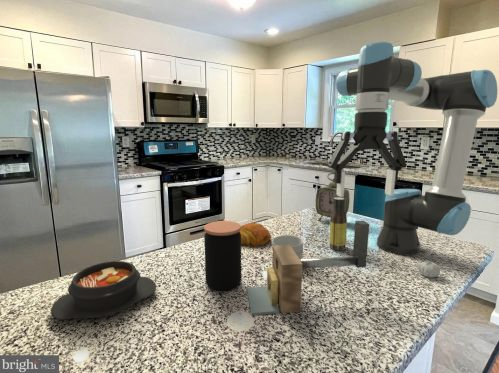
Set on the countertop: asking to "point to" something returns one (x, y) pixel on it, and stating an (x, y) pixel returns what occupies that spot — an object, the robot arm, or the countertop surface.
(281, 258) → the bearing block
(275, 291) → the plate
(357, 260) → the shaft
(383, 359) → the countertop surface
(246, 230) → the croissant
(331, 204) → the tabletop clock
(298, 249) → the teacup
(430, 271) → the garlic
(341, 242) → the sauce bottle
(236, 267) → the coffee jar
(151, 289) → the casserole
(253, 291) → the slate mat
